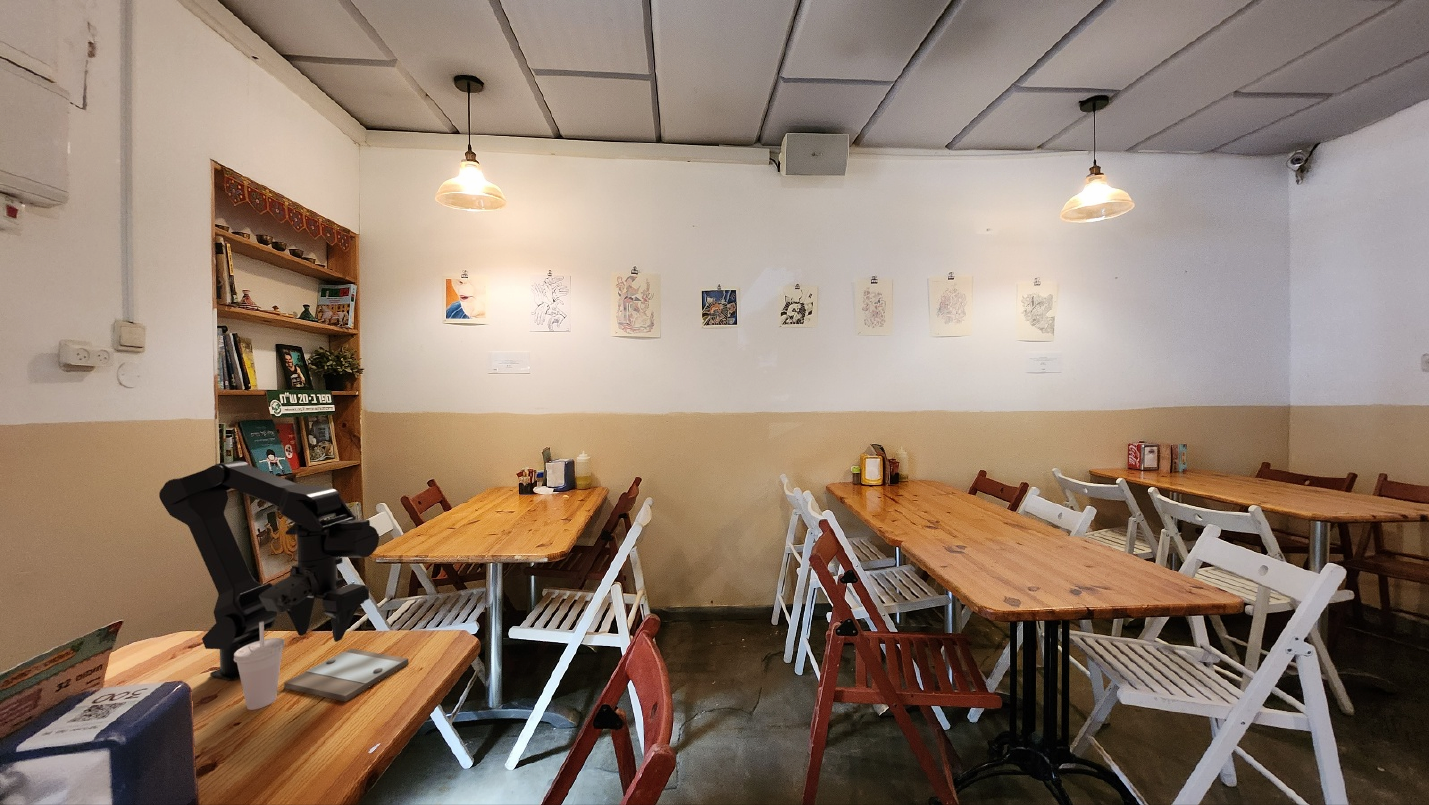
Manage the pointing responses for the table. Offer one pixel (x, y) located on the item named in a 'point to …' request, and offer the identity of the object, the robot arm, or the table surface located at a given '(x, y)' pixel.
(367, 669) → the gray and brown board
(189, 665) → the table surface
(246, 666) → the smoothie
